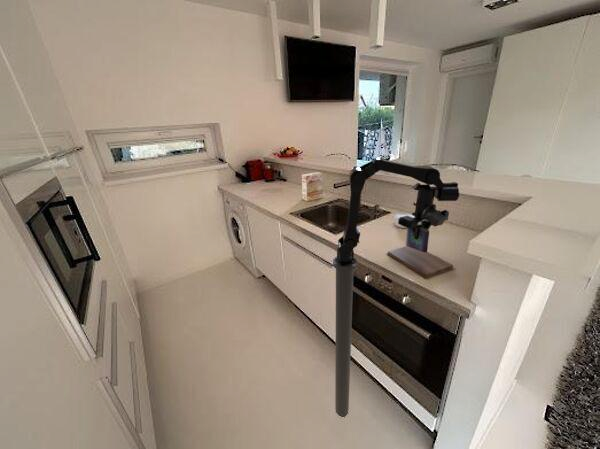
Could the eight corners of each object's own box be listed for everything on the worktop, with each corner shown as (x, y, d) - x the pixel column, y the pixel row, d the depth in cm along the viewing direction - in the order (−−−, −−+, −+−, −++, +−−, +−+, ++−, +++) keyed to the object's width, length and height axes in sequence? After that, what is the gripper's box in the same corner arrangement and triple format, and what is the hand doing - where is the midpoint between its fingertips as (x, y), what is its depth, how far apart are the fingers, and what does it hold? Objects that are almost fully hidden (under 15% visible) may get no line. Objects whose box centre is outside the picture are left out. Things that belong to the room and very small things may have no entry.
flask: (404, 245, 103) (406, 221, 99) (408, 243, 104) (411, 219, 101) (424, 253, 95) (428, 227, 92) (429, 251, 97) (432, 225, 93)
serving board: (425, 278, 89) (426, 274, 89) (387, 254, 107) (387, 251, 106) (452, 268, 94) (453, 265, 94) (412, 247, 111) (412, 244, 111)
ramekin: (409, 221, 140) (410, 212, 138) (419, 228, 130) (420, 219, 128) (390, 222, 140) (391, 213, 138) (398, 229, 130) (399, 220, 128)
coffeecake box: (307, 201, 186) (306, 175, 179) (302, 199, 192) (301, 174, 185) (323, 197, 193) (322, 173, 186) (318, 195, 199) (317, 171, 192)
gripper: (424, 211, 82) (417, 252, 87) (462, 202, 88) (454, 241, 94) (399, 202, 91) (395, 240, 97) (435, 195, 98) (429, 231, 103)
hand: (419, 238), depth 98 cm, fingers closed on flask, 3 cm apart
